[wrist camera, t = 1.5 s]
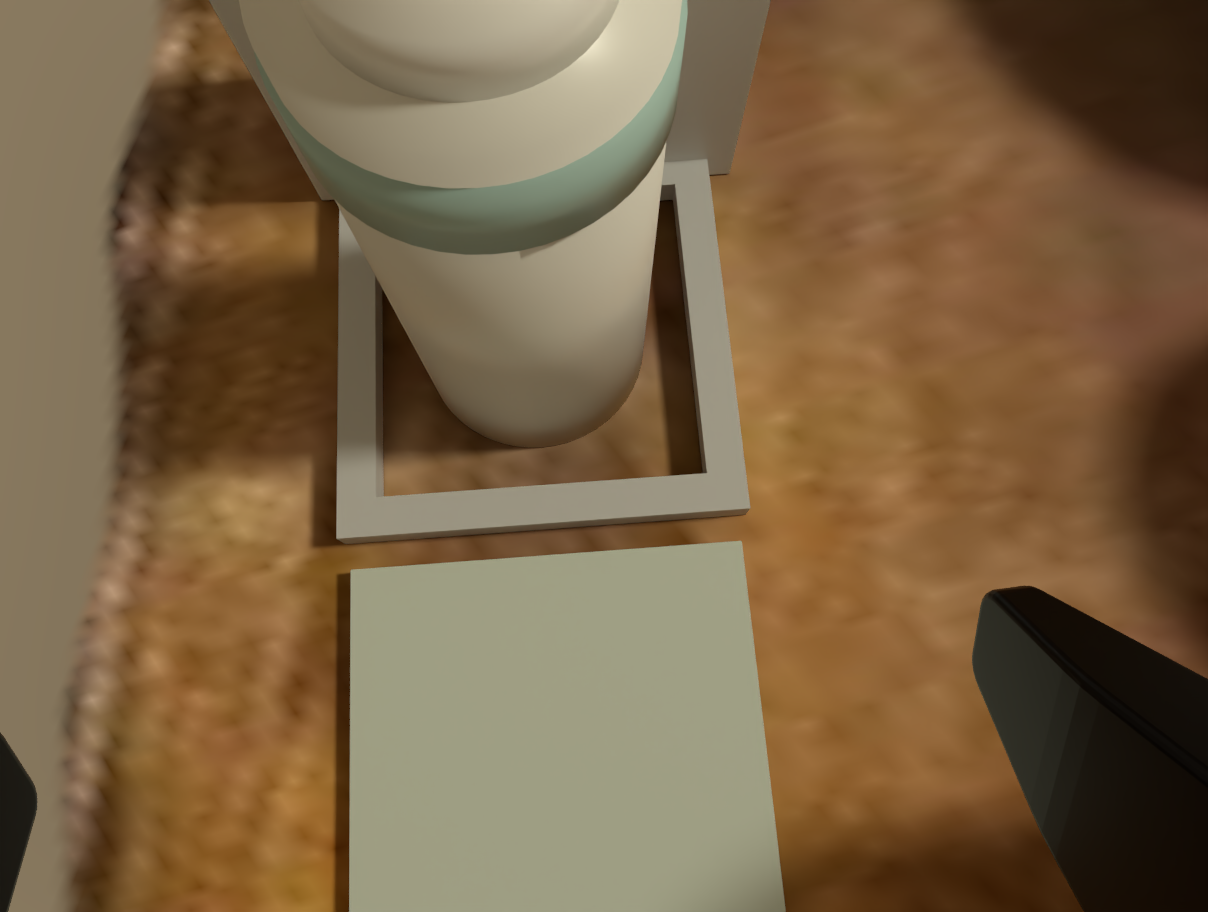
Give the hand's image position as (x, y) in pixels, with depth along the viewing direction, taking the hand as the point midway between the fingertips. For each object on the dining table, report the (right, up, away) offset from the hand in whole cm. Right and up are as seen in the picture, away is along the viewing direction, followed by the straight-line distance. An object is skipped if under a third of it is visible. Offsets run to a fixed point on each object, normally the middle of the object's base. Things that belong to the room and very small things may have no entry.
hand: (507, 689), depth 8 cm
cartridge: (-1, +5, +16) cm, 17 cm away
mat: (0, -5, +13) cm, 14 cm away
